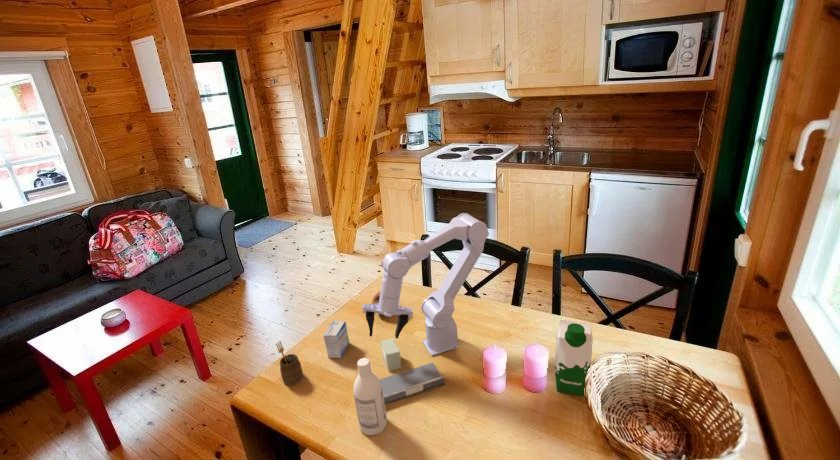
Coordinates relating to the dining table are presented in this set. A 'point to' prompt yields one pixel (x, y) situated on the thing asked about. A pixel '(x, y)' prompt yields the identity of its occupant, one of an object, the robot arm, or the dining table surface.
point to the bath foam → (369, 400)
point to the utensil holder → (290, 367)
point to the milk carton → (572, 356)
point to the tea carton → (390, 354)
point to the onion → (377, 300)
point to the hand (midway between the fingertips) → (383, 335)
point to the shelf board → (411, 383)
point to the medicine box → (336, 339)
